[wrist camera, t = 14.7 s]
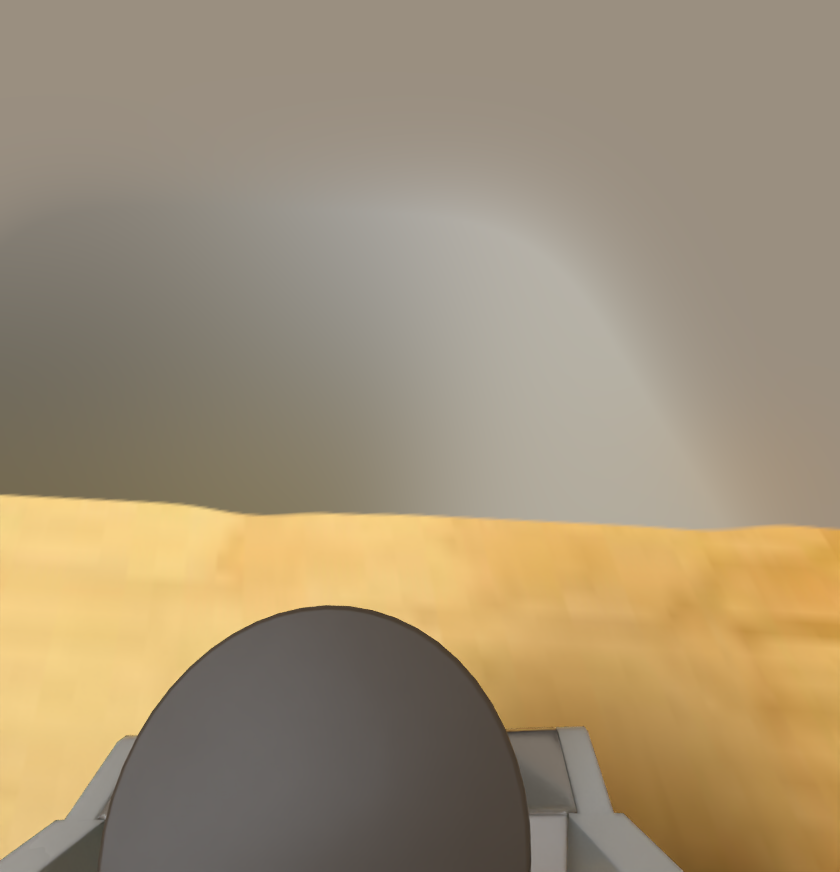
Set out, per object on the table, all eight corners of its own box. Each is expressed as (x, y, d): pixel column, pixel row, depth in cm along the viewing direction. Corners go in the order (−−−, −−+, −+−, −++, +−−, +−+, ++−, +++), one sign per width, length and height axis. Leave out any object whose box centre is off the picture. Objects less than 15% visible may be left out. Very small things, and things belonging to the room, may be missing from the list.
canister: (269, 917, 13) (34, 1146, 6) (291, 664, 15) (145, 609, 8) (505, 916, 13) (561, 1156, 5) (487, 659, 15) (510, 598, 8)
